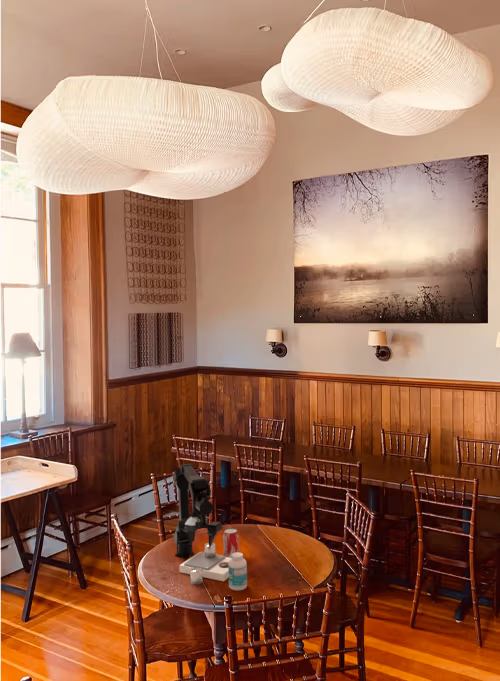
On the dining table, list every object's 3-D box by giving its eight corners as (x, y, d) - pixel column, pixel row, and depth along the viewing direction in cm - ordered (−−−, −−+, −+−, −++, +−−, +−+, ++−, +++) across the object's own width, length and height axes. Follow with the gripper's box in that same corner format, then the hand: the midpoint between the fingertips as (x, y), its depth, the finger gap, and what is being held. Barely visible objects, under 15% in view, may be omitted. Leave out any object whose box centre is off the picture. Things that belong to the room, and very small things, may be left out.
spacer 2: (202, 557, 269) (202, 545, 269) (208, 553, 274) (208, 542, 273) (212, 559, 267) (211, 547, 267) (218, 554, 271) (217, 543, 271)
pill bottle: (228, 583, 251) (227, 551, 250) (246, 582, 251) (245, 550, 251) (229, 591, 243) (228, 558, 243) (247, 590, 244) (247, 557, 243)
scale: (179, 572, 263) (179, 563, 263) (199, 558, 277) (199, 550, 277) (223, 581, 253) (223, 572, 253) (242, 566, 267) (241, 558, 267)
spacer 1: (188, 583, 252) (187, 571, 252) (194, 578, 256) (194, 566, 256) (198, 585, 250) (198, 573, 250) (205, 580, 254) (204, 568, 254)
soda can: (237, 560, 275) (236, 533, 274) (221, 559, 276) (221, 533, 275) (240, 553, 281) (239, 528, 281) (225, 553, 283) (224, 527, 282)
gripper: (170, 511, 254) (171, 548, 254) (208, 516, 245) (210, 555, 246) (184, 504, 264) (185, 540, 264) (222, 508, 255) (223, 545, 255)
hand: (200, 545), depth 257 cm, fingers open, 9 cm apart
